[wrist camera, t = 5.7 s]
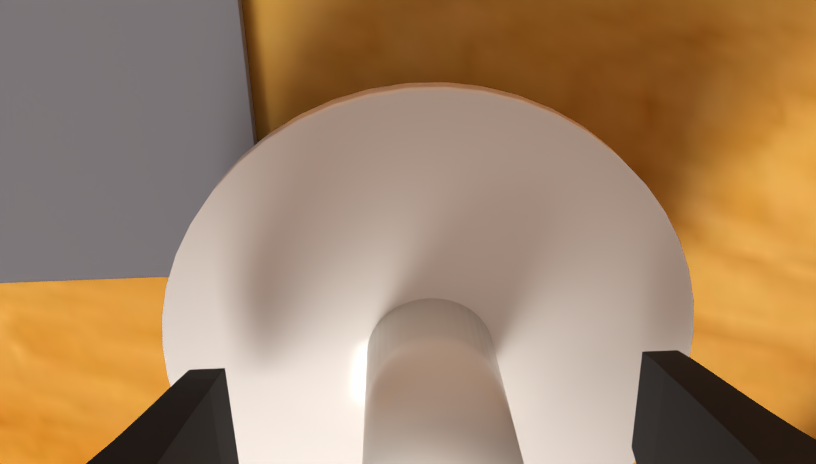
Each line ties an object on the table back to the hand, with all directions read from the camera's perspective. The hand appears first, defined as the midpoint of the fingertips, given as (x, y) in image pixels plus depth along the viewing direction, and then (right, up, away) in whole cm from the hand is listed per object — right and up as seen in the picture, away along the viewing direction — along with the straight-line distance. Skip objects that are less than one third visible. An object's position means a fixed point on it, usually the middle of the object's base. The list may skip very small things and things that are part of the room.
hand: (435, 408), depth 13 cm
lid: (0, +1, +2) cm, 2 cm away
